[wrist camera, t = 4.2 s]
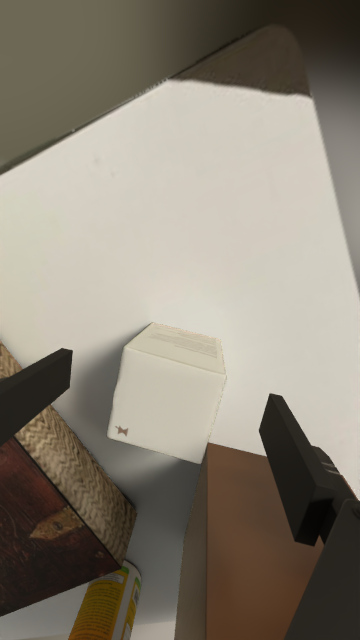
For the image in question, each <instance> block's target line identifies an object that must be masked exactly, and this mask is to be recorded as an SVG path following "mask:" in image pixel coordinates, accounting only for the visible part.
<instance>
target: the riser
mask: <svg viewBox="0 0 360 640" xmlns="http://www.w3.org/2000/svg"><path fill="white" fill-rule="evenodd" d="M341 476H342V477H343V475H341ZM343 479H344V481H345V482H346V480H345V478H344V477H343ZM346 484H347V485H348V483H347V482H346ZM348 487H349V488H350V486H349V485H348ZM350 490H351V491H352V489H351V488H350ZM352 493H353V494H354V492H353V491H352ZM354 496H355V497H356V495H355V494H354ZM356 499H357V500H358V498H357V497H356ZM358 501H359V500H358ZM323 547H324V544H323V542H322V540H321V537H320V535H319V537H318V539H317V542H316V544H315V547H313V546H309V545H305V544H301V543H298V542H294V539H293V535H292V532H291V529H290V526H289V523H288V520H287V517H286V514H285V511H284V507H283V504H282V501H281V498H280V495H279V492H278V489H277V486H276V483H275V479H274V476H273V473H272V470H271V467H270V464H269V461H268V458H267V457H266V456H262V455H257V454H253V453H249V452H245V451H241V450H237V449H233V448H229V447H224V446H220V445H216V444H212V443H207V447H206V450H205V454H204V459H203V463H202V467H201V471H200V475H199V479H198V483H197V488H196V492H195V496H194V500H193V504H192V508H191V513H190V517H189V521H188V525H187V529H186V533H185V537H184V542H183V552H182V563H181V573H180V584H179V595H178V605H177V616H176V627H175V638H174V640H283V639H284V637H285V635H286V633H287V630H288V628H289V626H290V623H291V621H292V619H293V616H294V614H295V612H296V610H297V607H298V605H299V603H300V600H301V598H302V596H303V593H304V591H305V589H306V587H307V584H308V582H309V580H310V577H311V575H312V573H313V570H314V568H315V566H316V563H317V561H318V559H319V557H320V554H321V552H322V550H323Z"/></svg>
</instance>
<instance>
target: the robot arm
mask: <svg viewBox="0 0 360 640" xmlns="http://www.w3.org/2000/svg"><path fill="white" fill-rule="evenodd" d="M72 354H73V350H68V349H64V348H61V349H59V350H58V351H56V352H54V353H52V354H50V355H48V356H47V357H45V358H43V359H41V360H39V361H37V362H36V363H34V364H32V365H30V366H28V367H26V368H25V369H23V370H21V371H19V372H17V373H15V374H14V375H12V376H10V377H3V378H0V447H1V446H2V445H4V444H5V443H6V442H7V441H8V440H9V439H10V438H12V437H13V436H14V435H15V434H16V433H17V432H19V431H20V430H21V429H22V428H23V427H24V426H26V425H27V424H28V423H29V422H30V421H31V420H32V419H34V418H35V417H36V416H37V415H38V414H39V413H41V412H42V411H43V410H44V409H45V408H46V407H48V406H49V405H50V404H51V403H52V402H53V401H54V400H56V399H57V398H58V397H59V396H60V395H61V394H63V393H64V392H65V391H66V390H67V389H68V388H70V377H71V365H72ZM259 433H260V436H261V439H262V442H263V445H264V448H265V451H266V455H267V458H268V461H269V464H270V467H271V470H272V473H273V476H274V479H275V483H276V486H277V489H278V492H279V495H280V498H281V501H282V504H283V507H284V511H285V514H286V517H287V520H288V523H289V526H290V529H291V532H292V535H293V539H294V542H298V543H301V544H305V545H309V546H313V547H315V544H316V542H317V539H318V537H319V535H320V537H321V540H322V542H323V544H324V547H323V550H322V552H321V554H320V557H319V559H318V561H317V563H316V566H315V568H314V570H313V573H312V575H311V577H310V580H309V582H308V584H307V587H306V589H305V591H304V593H303V596H302V598H301V600H300V603H299V605H298V607H297V610H296V612H295V614H294V616H293V619H292V621H291V623H290V626H289V628H288V630H287V633H286V635H285V637H284V639H283V640H360V501H358V500H357V499H356V497H355V496H354V494H353V493H352V491H351V490H350V488H349V487H348V485H347V484H346V482H345V481H344V479H343V477H342V476H341V475H340V473H339V471H338V470H337V468H336V467H335V465H334V464H333V462H332V461H331V459H330V458H329V456H328V455H327V454H326V453H325V452H324V451H323V450H321V449H320V448H319V447H315V446H311V444H310V442H309V441H308V439H307V437H306V436H305V434H304V432H303V431H302V429H301V427H300V426H299V424H298V422H297V421H296V419H295V417H294V415H293V414H292V412H291V410H290V409H289V407H288V405H287V404H286V402H285V400H284V399H283V397H282V396H280V395H275V394H271V393H270V394H269V398H268V401H267V405H266V408H265V411H264V415H263V418H262V422H261V425H260V428H259Z"/></svg>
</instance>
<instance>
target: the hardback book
mask: <svg viewBox="0 0 360 640" xmlns="http://www.w3.org/2000/svg"><path fill="white" fill-rule="evenodd" d="M21 370H23V369H22V367H21V366H20V365H19V364H18V362H17V361H16V360H15V359H14V357H13V356H12V355H11V354H10V352H9V351H8V350H7V349H6V347H5V346H4V345H3V344H2V342H1V341H0V378H3V377H10V376H12V375H14V374H15V373H17V372H19V371H21ZM136 517H137V512H136V511H135V510H134V509H133V507H132V506H131V505H130V504H129V502H128V501H127V500H126V499H125V497H124V496H123V495H122V494H121V492H120V491H119V490H118V488H117V487H116V486H115V485H114V483H113V482H112V481H111V480H110V478H109V477H108V476H107V475H106V473H105V472H104V471H103V470H102V468H101V467H100V466H99V465H98V463H97V462H96V461H95V460H94V458H93V457H92V456H91V454H90V453H89V452H88V451H87V449H86V448H85V447H84V446H83V444H82V443H81V442H80V441H79V439H78V438H77V437H76V436H75V434H74V433H73V432H72V431H71V429H70V428H69V427H68V425H67V424H66V423H65V422H64V420H63V419H62V418H61V417H60V415H59V414H58V413H57V412H56V410H55V409H54V408H53V407H52V405H51V404H50V405H49V406H48V407H46V408H45V409H44V410H43V411H42V412H41V413H39V414H38V415H37V416H36V417H35V418H34V419H32V420H31V421H30V422H29V423H28V424H27V425H26V426H24V427H23V428H22V429H21V430H20V431H19V432H17V433H16V434H15V435H14V436H13V437H12V438H10V439H9V440H8V441H7V442H6V443H5V444H4V445H2V446H1V447H0V617H1V616H4V615H6V614H9V613H11V612H14V611H16V610H19V609H21V608H24V607H27V606H29V605H32V604H34V603H37V602H39V601H42V600H44V599H47V598H49V597H52V596H54V595H57V594H59V593H62V592H64V591H67V590H70V589H72V588H75V587H77V586H80V585H82V584H85V583H87V582H90V581H92V580H95V579H97V578H100V577H102V576H105V575H107V574H110V573H113V572H115V571H118V570H120V569H121V568H122V565H123V561H124V558H125V554H126V551H127V548H128V544H129V541H130V537H131V534H132V530H133V527H134V523H135V520H136Z"/></svg>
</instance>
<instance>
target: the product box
mask: <svg viewBox="0 0 360 640" xmlns="http://www.w3.org/2000/svg"><path fill="white" fill-rule="evenodd" d="M226 378H227V375H226V370H225V364H224V358H223V351H222V344H221V340H220V339H218V338H214V337H210V336H206V335H201V334H197V333H193V332H189V331H185V330H181V329H177V328H173V327H169V326H165V325H161V324H157V323H153V322H152V323H151V324H150V325H149V326H148V327H146V328H145V329H144V330H143V331H142V332H141V333H140V334H138V335H137V336H136V337H135V338H133V339H132V340H131V341H130V342H129V343H128V344H127V345H125V346H124V347H123V351H122V357H121V362H120V367H119V373H118V378H117V383H116V387H115V391H114V395H113V404H112V409H111V414H110V419H109V424H108V429H107V437H108V438H110V439H114V440H117V441H121V442H125V443H128V444H132V445H135V446H139V447H142V448H146V449H149V450H152V451H156V452H159V453H163V454H166V455H170V456H173V457H176V458H180V459H183V460H187V461H190V462H193V463H197V464H201V462H202V459H203V456H204V453H205V450H206V447H207V443H208V440H209V437H210V434H211V430H212V427H213V424H214V420H215V417H216V414H217V411H218V407H219V404H220V400H221V397H222V393H223V390H224V386H225V382H226Z"/></svg>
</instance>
